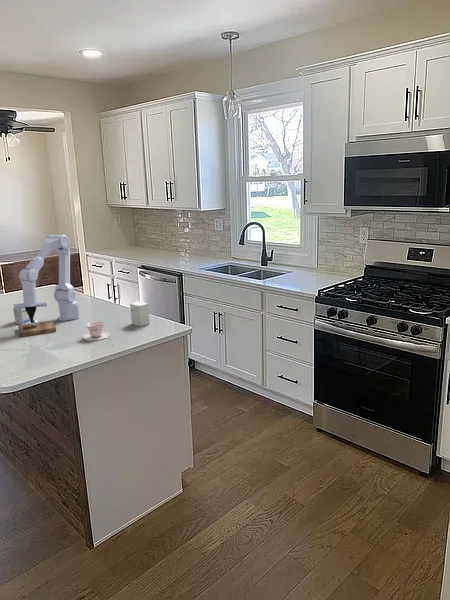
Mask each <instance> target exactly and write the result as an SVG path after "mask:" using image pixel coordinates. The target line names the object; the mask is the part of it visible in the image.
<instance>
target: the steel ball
mask: <svg viewBox="0 0 450 600" xmlns="http://www.w3.org/2000/svg"><path fill="white" fill-rule="evenodd" d="M30 324H31V326H32V327H37V326H38V324H39V321H38V320H36V319H33V323H31V322H30Z"/></svg>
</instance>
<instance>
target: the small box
mask: <svg viewBox="0 0 450 600" xmlns="http://www.w3.org/2000/svg"><path fill="white" fill-rule="evenodd" d="M129 309H130V317H131V318H130V321H131V324H132V325H135V326H138V327H144V326H148V325H149V324H151V320H150V311H149V310H150V307H149V303H146V302H142V301H135V302H131V303H129Z"/></svg>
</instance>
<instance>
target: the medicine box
mask: <svg viewBox="0 0 450 600" xmlns="http://www.w3.org/2000/svg"><path fill="white" fill-rule="evenodd" d="M26 307H28V306H26ZM12 310H13V317H14V321H15V324H16V325H25V324H27V323H28V322H31V321H30V318H29V315H28V313H27V312H26V310H25V308H19V309H14V307H13V308H12Z"/></svg>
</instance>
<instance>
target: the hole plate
mask: <svg viewBox="0 0 450 600" xmlns="http://www.w3.org/2000/svg"><path fill="white" fill-rule="evenodd" d="M38 323H39V324H38V326H37V327H32V326H31V323H24V324H17V327H18V333H19V338H23V337H30V336H36V335H37V336H38V335H44V334H49V333H50V334H51V333H56V332H57V327H56V325H55V323H54V321H53V320H46V321H40V322H39V321H38Z"/></svg>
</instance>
